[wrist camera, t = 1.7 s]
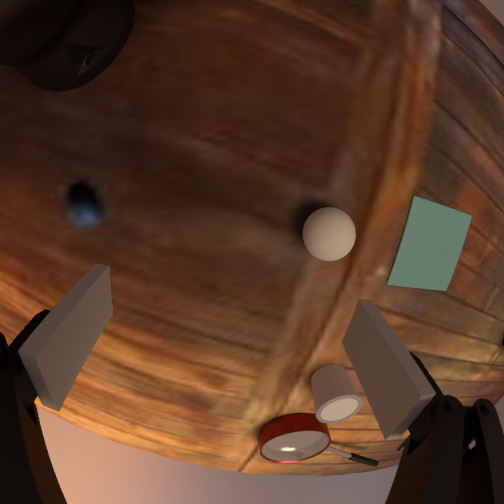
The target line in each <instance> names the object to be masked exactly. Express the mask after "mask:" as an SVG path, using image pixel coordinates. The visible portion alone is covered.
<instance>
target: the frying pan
mask: <svg viewBox="0 0 504 504" xmlns="http://www.w3.org/2000/svg"><path fill="white" fill-rule="evenodd" d="M330 443H331V438H330V434H329V431H328V427H327V424H326V423H323V422H320V421H318V419H317V418H316V415H314V414H308V413H298V414H290V415H286V416H282V417H279V418H276V419H274V420H272V421H270V422H268V423H267V424H266V425H264V426H263V428H262V429H261V430H260V432H259V447H260V454H261V456H262V457H263V458H265V459H266V460H269V461H272V462H279V463H290V462H298V461H302V460H306V459H309V458H312V457H314V456H316V455H318V454H320V453H322V452H323V451H324V450H327V451H329V452H332V453H335V454H338V455H341V456H344V457H347V458H348V459H350V460H353V461H357V462H360V463H363V464H367V465H370V466H374V467H375V466H377V465H378V461H376V460H373V459H369V458H366V457H363V456H360V455H357V454H354V453H348V452H345V451H342V450H339V449H336V448H333V447H331V446H329V445H330Z"/></svg>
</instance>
